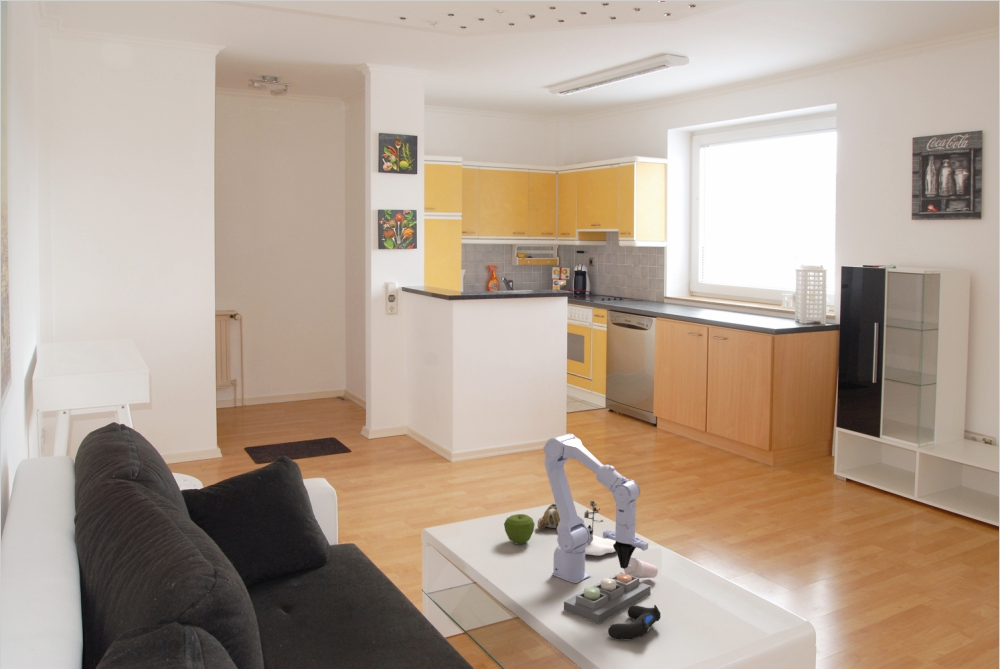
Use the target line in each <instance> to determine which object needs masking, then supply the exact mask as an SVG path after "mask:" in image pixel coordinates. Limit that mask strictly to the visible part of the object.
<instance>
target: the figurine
mask: <svg viewBox="0 0 1000 669" xmlns="http://www.w3.org/2000/svg"><path fill="white" fill-rule="evenodd" d="M597 505H598V503H597V502H595V500H590V501H589V506H590V507H591V508H592V511H591V512H590V511H589V510H585V512H584V516H583V517H584V519H589V520H592V523H591V524H592V526H591V525H590V524H589V525H588V526H587V528H588V530H589V532H590V539H589V541H588V542H587V543H586V547H585V555H591V556H592V555H593V556H603V555H606V554H609V553H610V554H611V553H614V552H615V553H616V551H615V549H614V547H613V544H615V542H616V541H615V540H611V539H608V538H606V539H605V538H603V537H601V536H597V535H594V522H596V523H604V519H601V520H597V519H596V520H595V515H596V514H597V513H600V510H601V508H599V509H597V507H596V506H597ZM590 515H592V517H589V516H590Z"/></svg>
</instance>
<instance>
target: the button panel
mask: <svg viewBox="0 0 1000 669" xmlns="http://www.w3.org/2000/svg"><path fill="white" fill-rule="evenodd" d="M619 574H625V572H619V573H617V574H614V575H612V576H610V577H608V578H607V579H613V580H615V581H616V590H614V591H612V592H609V591H606V590H603V589H601V581H600V582H599V583H597V584H595V585H593V586H592V587H595V588H598V589H599V590H600V598H599V599H597V600H596V601H592V600H589V599H587V598H584V590H583V591H582V592H579V593H578V594H576V595H573V596H572V597H570V598H568V599H566V600H564V601H563V611H565V612H568V613H570V614H574V615H575V616H577V617H580V618H584V619H585V620H588V621H590V622H592V623H595V624H598V625H600V624H601V623H603V622H605V621H607V620H608V619H610V618H612V617H614V616H615V615H616V614H618V613H620V612H621V611H623V610H626V609H628V608H629V607H630V606H632V605H634V604H635V603H638V602H639V601H641V600H643V599H644V598H645V597H648V596H650V595H651V588H652V587H651V585H649V584H647V583H644V582H641V581H640V578H637V577H634V576H631V575H630V576H631V577H632V581H631V582H629V583H627V584H626V583H623V582H620V581H617V575H619Z"/></svg>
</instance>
